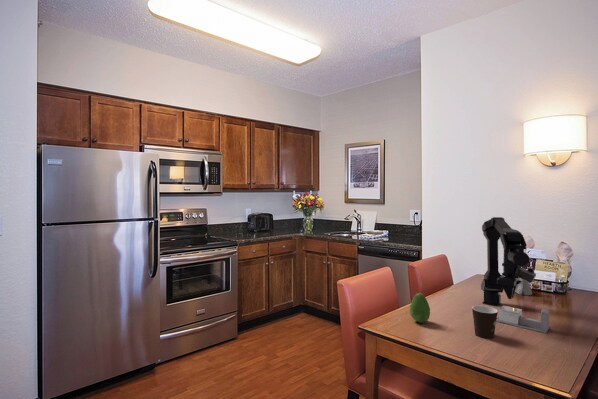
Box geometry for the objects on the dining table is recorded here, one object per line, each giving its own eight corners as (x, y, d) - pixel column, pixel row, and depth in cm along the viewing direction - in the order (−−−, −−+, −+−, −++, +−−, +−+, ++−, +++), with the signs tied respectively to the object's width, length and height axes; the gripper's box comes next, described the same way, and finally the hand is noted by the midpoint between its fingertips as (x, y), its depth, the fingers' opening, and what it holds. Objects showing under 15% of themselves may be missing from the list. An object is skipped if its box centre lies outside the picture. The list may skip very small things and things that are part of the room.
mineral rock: (511, 288, 198) (511, 270, 197) (534, 291, 191) (534, 273, 190) (507, 293, 188) (507, 274, 187) (531, 297, 181) (531, 278, 180)
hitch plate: (494, 321, 147) (494, 301, 146) (499, 316, 152) (500, 297, 152) (547, 333, 134) (547, 311, 134) (551, 328, 139) (551, 306, 139)
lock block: (498, 320, 146) (499, 307, 146) (503, 317, 151) (503, 304, 150) (518, 325, 141) (518, 311, 141) (521, 321, 146) (522, 308, 146)
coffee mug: (487, 341, 127) (488, 314, 126) (466, 333, 134) (467, 307, 134) (507, 335, 132) (507, 309, 132) (485, 327, 140) (486, 303, 139)
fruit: (415, 317, 151) (415, 289, 151) (433, 322, 146) (433, 293, 145) (406, 322, 146) (406, 293, 145) (424, 327, 140) (424, 297, 140)
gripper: (528, 267, 133) (528, 308, 133) (539, 260, 146) (538, 297, 147) (496, 263, 141) (496, 301, 141) (509, 257, 154) (508, 292, 155)
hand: (510, 298), depth 146 cm, fingers open, 3 cm apart
